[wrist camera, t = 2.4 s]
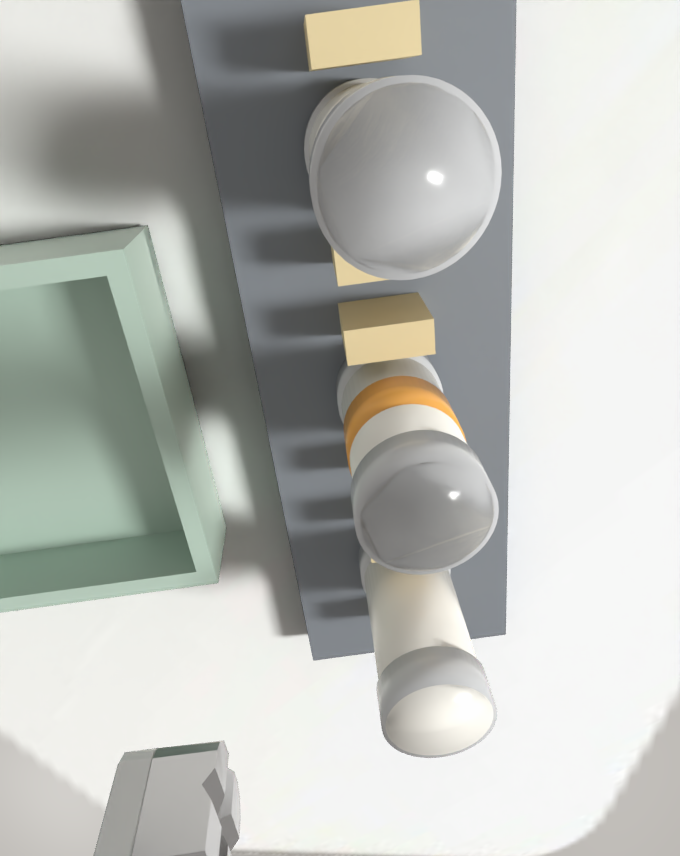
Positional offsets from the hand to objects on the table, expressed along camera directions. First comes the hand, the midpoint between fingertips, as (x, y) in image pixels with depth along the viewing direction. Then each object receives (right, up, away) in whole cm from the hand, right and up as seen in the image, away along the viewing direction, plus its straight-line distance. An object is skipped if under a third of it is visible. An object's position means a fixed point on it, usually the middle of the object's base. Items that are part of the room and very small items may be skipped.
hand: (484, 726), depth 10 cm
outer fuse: (0, 0, +14) cm, 14 cm away
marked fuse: (-1, +6, +10) cm, 12 cm away
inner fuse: (-2, +12, +7) cm, 14 cm away
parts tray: (-13, +5, +11) cm, 18 cm away
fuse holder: (-1, +7, +11) cm, 13 cm away
